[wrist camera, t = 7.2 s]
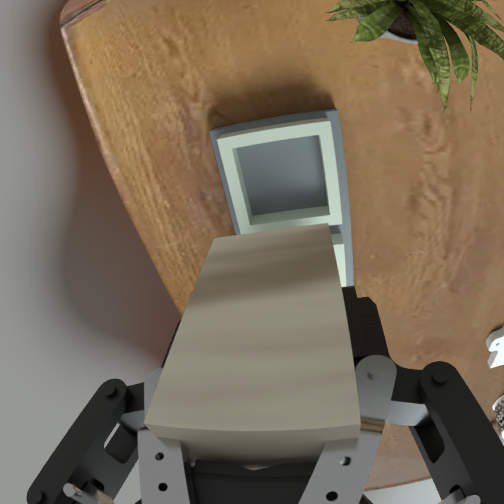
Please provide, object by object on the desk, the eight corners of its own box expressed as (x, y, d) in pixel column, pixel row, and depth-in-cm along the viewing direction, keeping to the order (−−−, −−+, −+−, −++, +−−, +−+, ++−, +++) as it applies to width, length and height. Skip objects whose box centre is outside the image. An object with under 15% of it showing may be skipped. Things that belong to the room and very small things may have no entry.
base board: (213, 128, 27) (174, 160, 18) (335, 108, 25) (361, 129, 16) (259, 307, 38) (248, 379, 29) (352, 297, 35) (365, 370, 27)
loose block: (214, 238, 14) (143, 423, 7) (328, 222, 13) (361, 423, 6) (240, 320, 17) (208, 484, 9) (336, 310, 16) (350, 484, 8)
